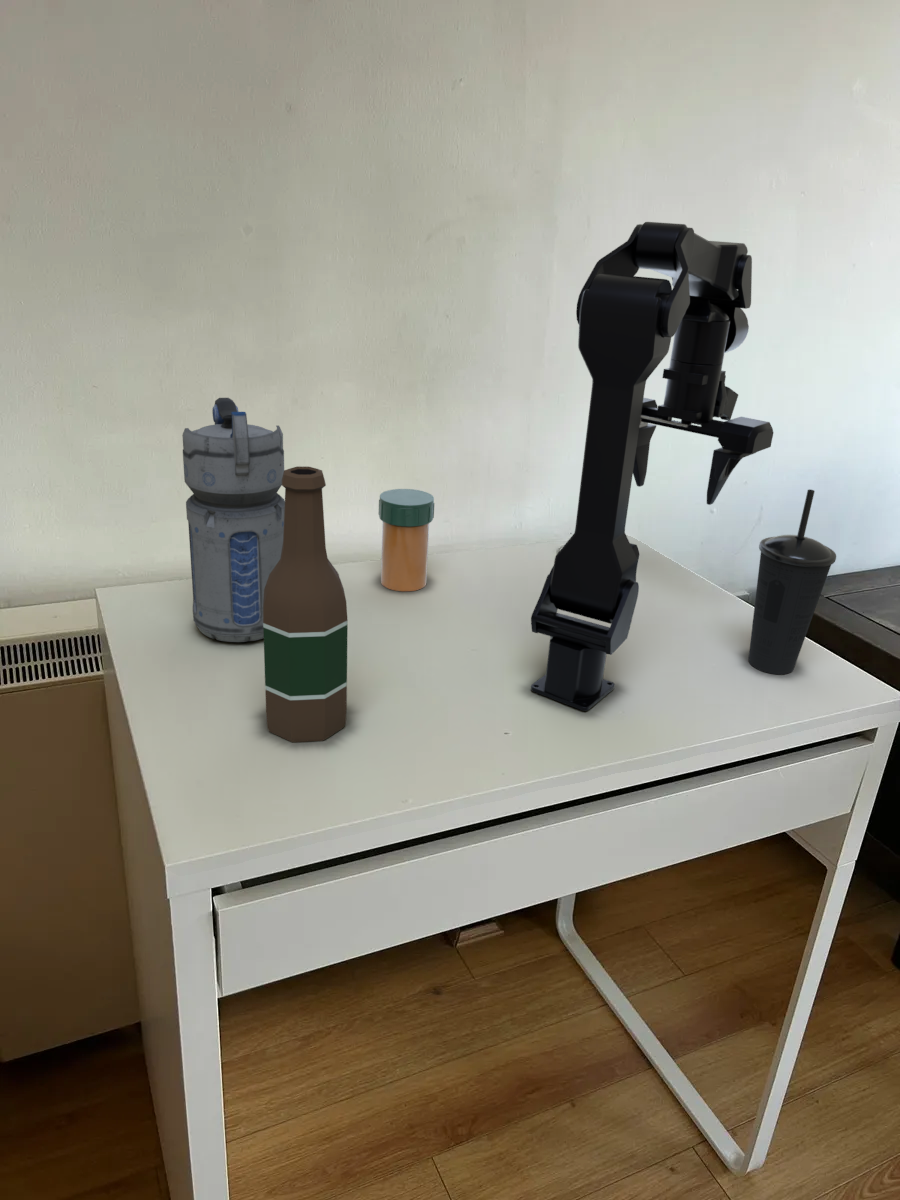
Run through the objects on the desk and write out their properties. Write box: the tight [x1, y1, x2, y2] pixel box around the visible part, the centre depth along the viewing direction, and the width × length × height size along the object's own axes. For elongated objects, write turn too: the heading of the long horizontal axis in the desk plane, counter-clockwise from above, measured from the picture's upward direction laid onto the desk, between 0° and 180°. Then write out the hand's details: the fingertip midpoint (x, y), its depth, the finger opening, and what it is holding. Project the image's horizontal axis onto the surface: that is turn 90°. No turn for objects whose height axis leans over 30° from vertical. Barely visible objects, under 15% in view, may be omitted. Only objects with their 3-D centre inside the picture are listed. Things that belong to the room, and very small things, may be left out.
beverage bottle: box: [181, 397, 285, 643], centre depth 96 cm, size 10×13×25 cm
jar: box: [380, 520, 430, 592], centre depth 113 cm, size 6×6×11 cm
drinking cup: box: [748, 489, 837, 675], centre depth 95 cm, size 8×8×20 cm
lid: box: [378, 488, 435, 527], centre depth 111 cm, size 7×7×3 cm
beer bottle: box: [263, 466, 349, 743], centre depth 78 cm, size 8×8×24 cm
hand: (674, 494), depth 107 cm, fingers open, 9 cm apart
